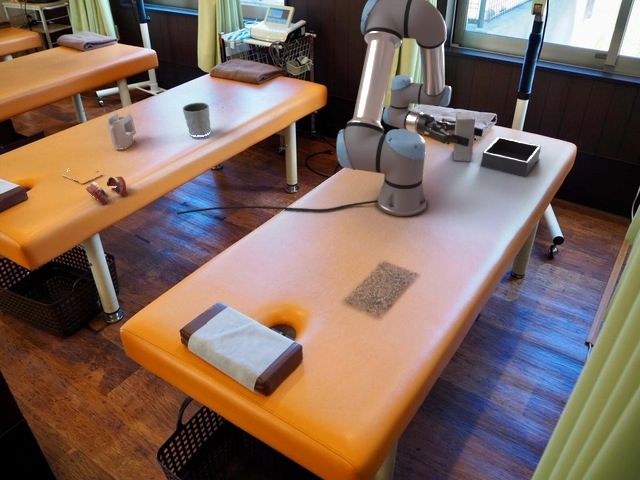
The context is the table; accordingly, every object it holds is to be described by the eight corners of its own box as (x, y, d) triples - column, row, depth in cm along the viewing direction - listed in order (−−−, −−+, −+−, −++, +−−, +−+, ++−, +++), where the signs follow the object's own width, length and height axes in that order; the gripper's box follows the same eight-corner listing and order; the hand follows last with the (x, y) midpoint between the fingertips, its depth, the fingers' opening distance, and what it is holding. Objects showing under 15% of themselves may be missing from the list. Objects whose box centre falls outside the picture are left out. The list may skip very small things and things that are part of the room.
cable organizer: (139, 139, 216) (132, 111, 209) (124, 152, 206) (117, 123, 199) (124, 138, 217) (117, 110, 210) (108, 151, 207) (100, 122, 200)
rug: (343, 302, 130) (343, 299, 130) (383, 262, 143) (383, 259, 143) (378, 317, 126) (378, 314, 125) (416, 274, 139) (416, 271, 138)
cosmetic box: (471, 162, 192) (477, 120, 183) (451, 160, 193) (456, 119, 184) (470, 152, 198) (476, 111, 190) (451, 150, 200) (456, 110, 191)
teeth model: (126, 176, 175) (92, 190, 168) (131, 193, 179) (97, 207, 172) (114, 169, 180) (80, 182, 174) (119, 186, 184) (86, 199, 177)
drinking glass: (217, 133, 219) (213, 105, 212) (200, 142, 212) (196, 113, 205) (199, 128, 224) (195, 100, 217) (182, 137, 217) (177, 108, 210)
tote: (524, 176, 182) (528, 162, 179) (480, 166, 189) (482, 152, 186) (538, 159, 192) (541, 146, 189) (495, 150, 200) (498, 136, 196)
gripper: (435, 123, 210) (488, 137, 198) (403, 142, 196) (458, 158, 184) (437, 105, 206) (491, 118, 193) (405, 122, 192) (461, 138, 180)
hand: (475, 137), depth 189 cm, fingers closed on cosmetic box, 10 cm apart
